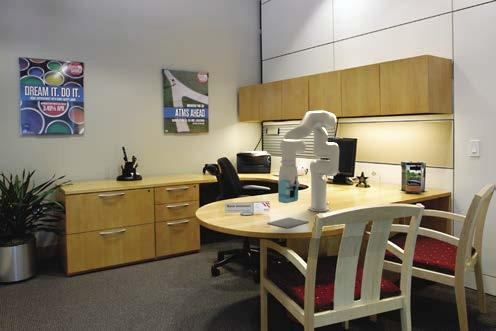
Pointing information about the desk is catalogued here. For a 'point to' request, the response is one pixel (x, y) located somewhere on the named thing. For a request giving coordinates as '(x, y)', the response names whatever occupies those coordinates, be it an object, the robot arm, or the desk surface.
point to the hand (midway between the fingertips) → (288, 196)
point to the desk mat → (288, 222)
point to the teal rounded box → (286, 192)
